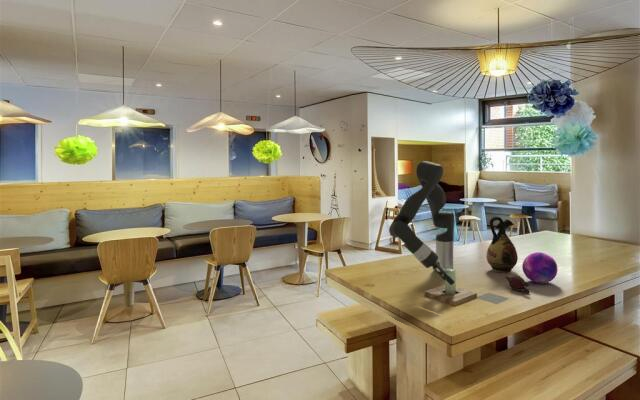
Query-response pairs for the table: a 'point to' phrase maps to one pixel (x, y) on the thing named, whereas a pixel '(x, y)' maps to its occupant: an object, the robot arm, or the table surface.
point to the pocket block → (455, 299)
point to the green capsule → (452, 288)
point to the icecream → (518, 283)
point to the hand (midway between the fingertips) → (451, 280)
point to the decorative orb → (539, 267)
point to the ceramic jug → (501, 248)
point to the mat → (492, 298)
